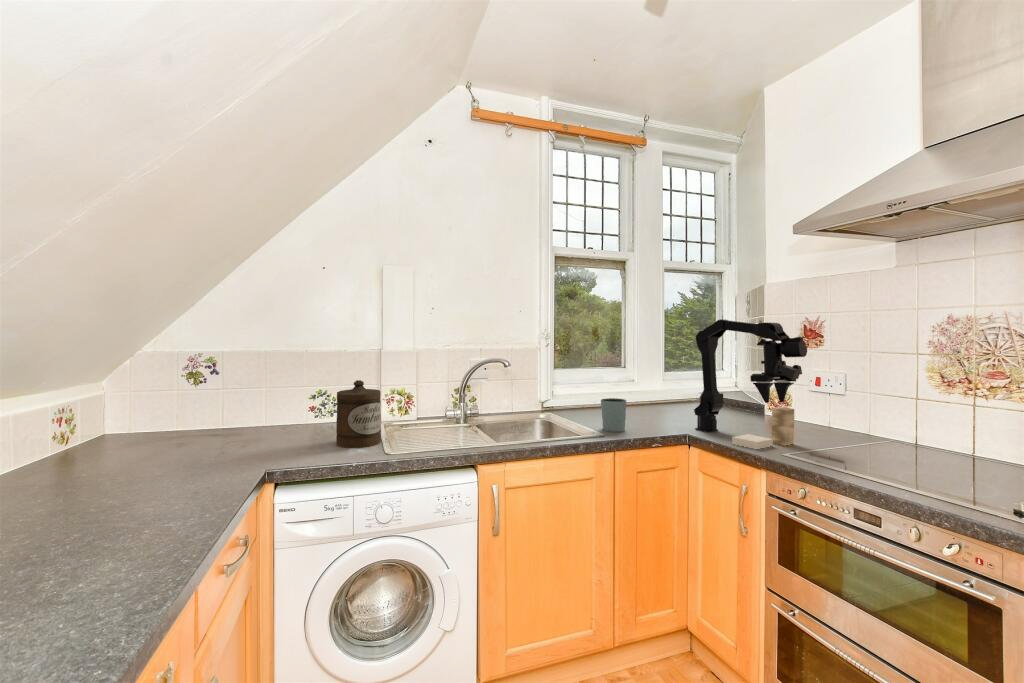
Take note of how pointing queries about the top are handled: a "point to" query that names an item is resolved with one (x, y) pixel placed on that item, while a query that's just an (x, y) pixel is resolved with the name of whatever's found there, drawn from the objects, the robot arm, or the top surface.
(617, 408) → the grey green cup
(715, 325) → the robot arm
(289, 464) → the top surface
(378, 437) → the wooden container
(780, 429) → the oak block
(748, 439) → the cream base block
